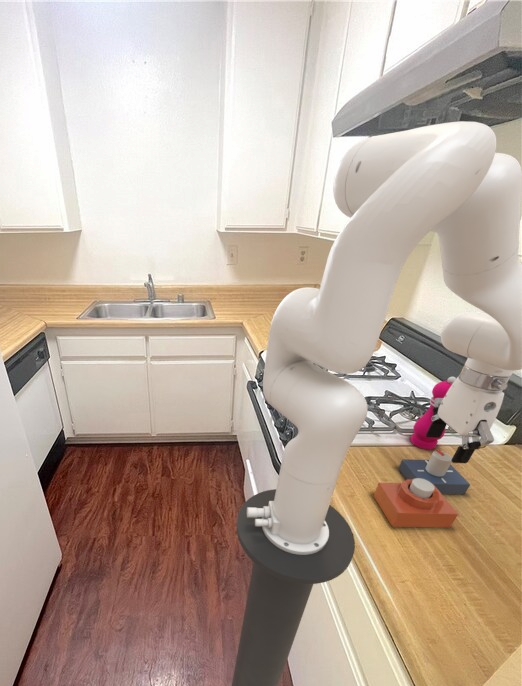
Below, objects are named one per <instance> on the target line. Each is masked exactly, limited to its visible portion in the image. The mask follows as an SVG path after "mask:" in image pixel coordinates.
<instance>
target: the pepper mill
mask: <svg viewBox="0 0 522 686" xmlns="http://www.w3.org/2000/svg"><path fill="white" fill-rule="evenodd" d="M456 379H457V377H455V376H450V377H448V378H447V380H443V381H440V382H438V383H436V384H435V385H434V386H433V387H432V390H431V394H432V397H431V398H430V400H429V404H430V405H429V407H428V409H427V411H426V412H425V413H424V414H423V415H422V416H421V417H420V418H418V419H417V421H416V422H415V423H414V424H413V428H412V429H413V433H412V435H411V437H410V443H411V444H412V445H414V446H415V447H417V448H419V449H422V450H434V449H435V448H436V447H437V445H438V443H439V440H441V439H442V438H443V437H444V436H445V433H446V428H445V429H444V431H443V433H442V435H441V437H440V438H430V437H427V436H426V433H427V431H428V429H429V427H430V425H431V423H432V422H433V421H432V416H433V408H434V402H435V399H436V398H444V397H445V395H446V393H447V392H448V390H449V388H450V387H451V385H452V384H453V383H454V381H455V380H456Z"/></svg>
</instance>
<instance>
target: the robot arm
mask: <svg viewBox="0 0 522 686" xmlns="http://www.w3.org/2000/svg"><path fill="white" fill-rule="evenodd" d="M497 142H498V141H497V136H496V133H495V132H494V130H493V129H492V128H491V127H490V126H488V125H487V124H485V123H481V122H478V121H465V120H464V121H462V120H461V121H450V122H443V123H437V124H436V123H435V124H430V125H425V126H419V127H415V128H411V129H405V130H401V131H396V132H390V133H385V134H379V135H378V134H377V135H375V136H371V137H367V138H365V139H362V140H360V141H358V142H357V143H355V144H354V145H352V146H351V148H350V149H348V150H347V151H346V152H345V154H344V155H343V156H342V158H341V160H340V161H339V163H338V165H337V167H336V170H335V173H334V177H333V182H332V193H333V199H334V201H335V205H336V206H337V208H338V210H339V211H340V212H341V213H342V214H344V215H345V216H346V217H348V218H349V219H348V220H347V222H346V223H345V224H344V226H343V227H342V229H341V230H340V231H339V233H337V236H336V238H335V240H334V242H333V243H332V245H331V248H330V250H329V253H328V255H327V259H326V263H325V267H324V270H323V275H322V279H321V281H320V287H319V288H317V287H311V286H310V287H309V286H308V287H305V286H304V287H300V288H297V289H294V290H293V291H291V292H290V293H288V294H287V295H286V296H285V297H284V298H283V299H282V300H281V302H280V303H279V304H278V306H277V308H276V309H275V311H274V313H273V315H272V319H271V322H270V326H269V332H268V340H267V344H266V345H267V347H266V353H265V360H264V368H263V377H262V391H263V396H264V398H265V400H266V402H267V403H268V404H269V405H270V406H271V407H272V408H273V409H274V410H275V411H277V412H278V413H280V414H281V415H282V416H283V417H284V418H286V419H287V420H289V422H290V423H292V425H294V426H295V428H297V435H296V436H295V437H293V438H292V439H290V440H289V441H288V442H287V444H286V445H285V446H284V449H283V452H282V457H281V463H280V468H279V473H278V478H277V483H276V488H275V489H276V493H275V498H274V501H269V504H268V506H263V508H253V507H247V517H249V518H257V517H262V519H255V526H262V529H263V532H264V534H265V536H266V537H267V538H268V539H269V541H270V542H272V543H273V544H274V545H275V546H277V547H278V548H280V549H282V550H284V551H286V552H289V553H292V554H298V555H308V554H313V553H316V552H318V551H320V550H321V549H322V548H323V547H324V546H325V545H326V543H327V541H328V537H329V529H328V525H327V523H326V521H325V517H326V514H327V511H328V508H329V505H331V502H332V499H333V495H334V493H335V489H336V487H337V484H338V480H339V477H340V473H341V470H342V468H343V465H344V462H345V459H346V456H347V454H348V452H349V450H350V448H351V446H352V443H353V442H354V441H355V439H356V436H357V435H358V433H359V432H360V430H361V429H362V427H363V425H364V423H365V421H366V418H367V417H368V409H369V408H368V402H367V400H366V398H365V396H364V395H363V393H362V392H361V391H360V390H359V389H358V388H357V387H356V386H354V385H353V384H352V383H350V382H349V381H347V380H345V379H343V378H342V377H339V376H338V375H336V374H341V375H350V374H356V373H357V372H359V371H362V369H364V368H365V367H366V366H367V364H368V363H369V362H370V360H371V359H372V356H373V355H374V353H375V350H376V348H377V345H378V342H379V340H380V336H381V333H382V330H383V326H384V323H385V320H386V317H387V314H388V311H389V308H390V304H391V301H392V298H393V295H394V292H395V288H396V287H397V286H396V285H397V283H398V280H399V277H400V275H401V272H402V269H403V267H404V266H405V263H406V262H407V260H408V259H409V256H410V255H411V254H412V253H413V251H414V250H415V248H416V247H417V246H418V244H419V243H420V242H421V241H423V239H424V238H425V237H426V236H427V235H428V234H429V233H431V232H434V233H436V234H437V236H438V242H439V251H440V259H441V266H442V267H441V269H442V277H443V282H444V284H445V286H446V287H447V288H448V290H450V292H452V293H453V294H455V295H456V296H457V297H459V298H460V299H462V300H463V301H465V302H466V303H468V304H470V305H471V306H472V307H475V308H477V309H479V310H480V311H477V310H469V311H467V310H466V311H463V312H459V313H457V314H455V315H454V316H452V317H451V318H450V319H449V320H448V321H446V323H445V325H444V326H443V328H442V330H441V332H440V341H441V344H442V346H443V347H444V348H445V349H446V350H447V351H449V352H451V353H454V354H456V355H460V356H462V357H465V358H467V359H466V361H465V363H464V365H463V367H462V369H461V371H460V373H459V375H458V376H457V377H456V380H455V381H454V383H453V384H452V385H451V387H450V388H449V390H448V392H447V393H446V395H445V397H444V398H436V399H435V402H434V408H433V416H432V421H433V422H432V423H431V425H430V427H429V429H428V431H427V433H426V436H427V437H430V438H440V437H441V435H442V433H443V431H444V429H445V430H446V427H447V425H448V426H449V427H450V428H451V429H452V430H454V431H455V432H456V433H457V434H459V435H460V436H461V445H459V446H458V447H457V448H456V450H455V452H454V454H453V456H452V457H453V458H452V460H451V461H452V462H451V463H453V464H468V463H469V461H470V459H471V458H472V456H473V454H474V452H475V451H476V450H477V451H478V450H480V449H484V448H486V447H487V446H489V445H490V444H492V443H493V442H495V438H494V436H493V433H492V431H491V429H492V427H493V424H494V423H495V421H496V419H497V417H498V414H499V412H500V410H501V407H502V405H503V401H504V396H505V392H503V391H504V390H506V389H507V388H508V382H509V380H510V378H511V377H512V375H513V373H514V372H515V371H520V370H522V262H521V261H520V260H519V248H520V229H521V214H522V213H521V212H522V211H521V210H522V166H521V164H520V162H519V161H518V159H516V158H515V156H513V155H510V154H507V153H502V152H496V151H497V144H498V143H497ZM330 371H331V372H330ZM332 372H333V373H332ZM334 373H336V374H334ZM470 438H472V439H471V440H472V441H470Z"/></svg>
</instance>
